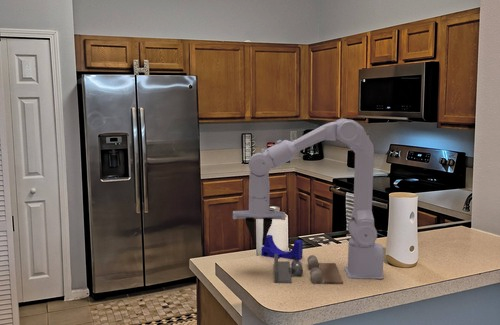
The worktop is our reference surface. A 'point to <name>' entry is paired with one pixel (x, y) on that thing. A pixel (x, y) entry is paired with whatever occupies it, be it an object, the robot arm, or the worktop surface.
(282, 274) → the metal hinge
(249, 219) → the robot arm
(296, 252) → the blue u-shaped bracket
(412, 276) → the worktop surface
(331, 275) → the fixed leaf
